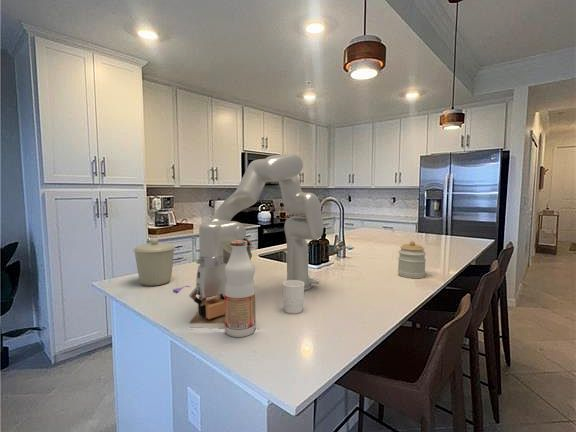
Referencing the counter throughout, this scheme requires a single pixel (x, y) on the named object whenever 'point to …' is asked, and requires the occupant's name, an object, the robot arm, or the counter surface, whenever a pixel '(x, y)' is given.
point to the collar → (214, 307)
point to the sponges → (179, 289)
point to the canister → (154, 262)
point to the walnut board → (200, 319)
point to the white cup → (293, 296)
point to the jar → (411, 261)
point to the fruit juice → (239, 292)
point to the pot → (228, 249)
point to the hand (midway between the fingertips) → (212, 312)
